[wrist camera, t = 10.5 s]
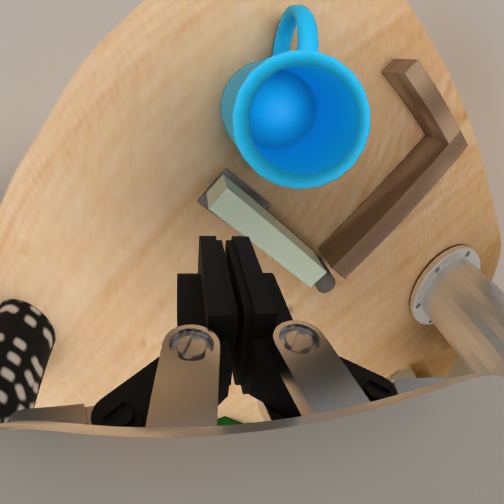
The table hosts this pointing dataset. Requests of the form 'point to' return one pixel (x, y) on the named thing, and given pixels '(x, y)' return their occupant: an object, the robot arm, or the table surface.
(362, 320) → the table surface
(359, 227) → the dock
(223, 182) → the leg
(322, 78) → the mug
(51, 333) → the white-spotted black cylinder
